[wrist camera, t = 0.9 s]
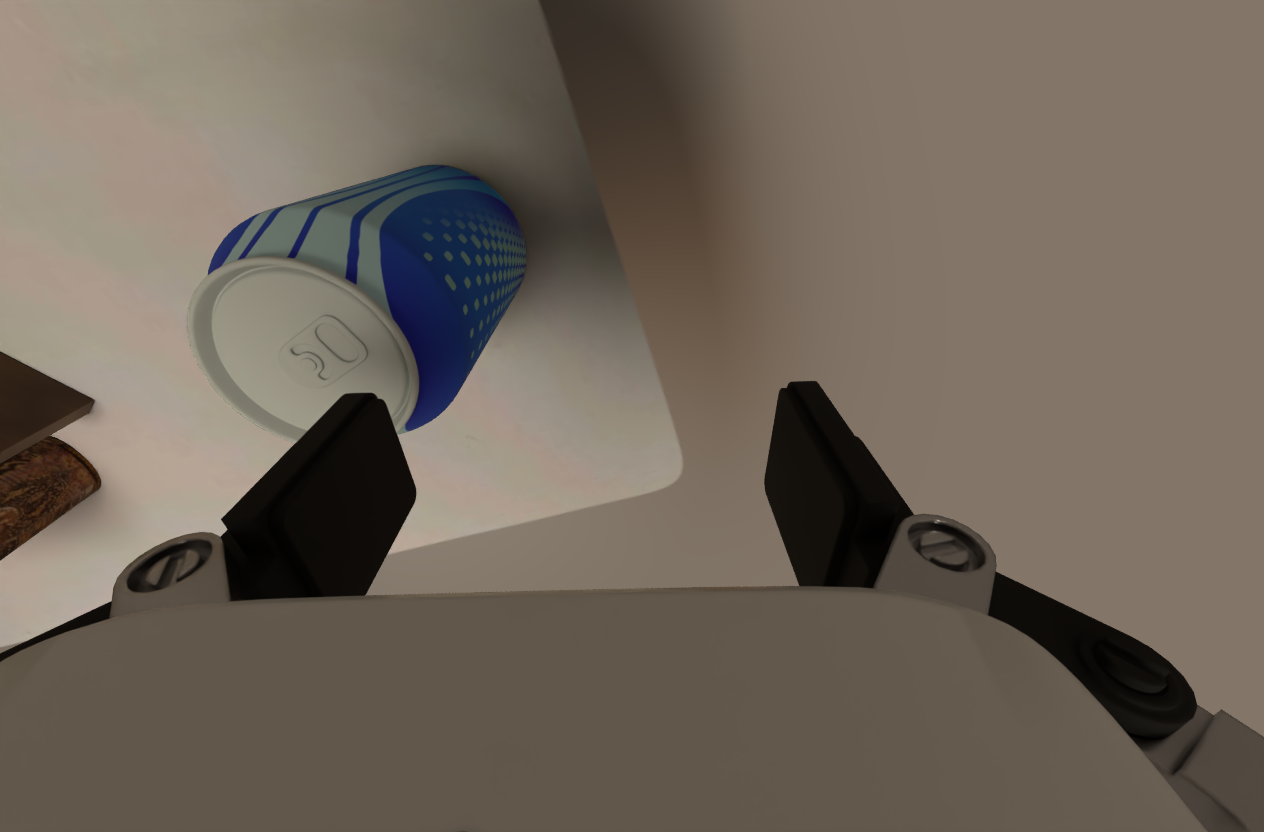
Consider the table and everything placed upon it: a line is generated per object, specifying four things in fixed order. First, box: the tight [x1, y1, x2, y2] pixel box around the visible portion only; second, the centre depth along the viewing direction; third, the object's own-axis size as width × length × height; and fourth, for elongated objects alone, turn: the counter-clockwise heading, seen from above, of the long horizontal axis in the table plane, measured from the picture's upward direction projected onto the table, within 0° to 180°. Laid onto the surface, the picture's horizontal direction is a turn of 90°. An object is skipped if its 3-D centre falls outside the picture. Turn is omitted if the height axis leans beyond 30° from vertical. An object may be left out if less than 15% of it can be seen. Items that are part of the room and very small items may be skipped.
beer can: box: [187, 165, 526, 443], centre depth 21 cm, size 8×8×16 cm
